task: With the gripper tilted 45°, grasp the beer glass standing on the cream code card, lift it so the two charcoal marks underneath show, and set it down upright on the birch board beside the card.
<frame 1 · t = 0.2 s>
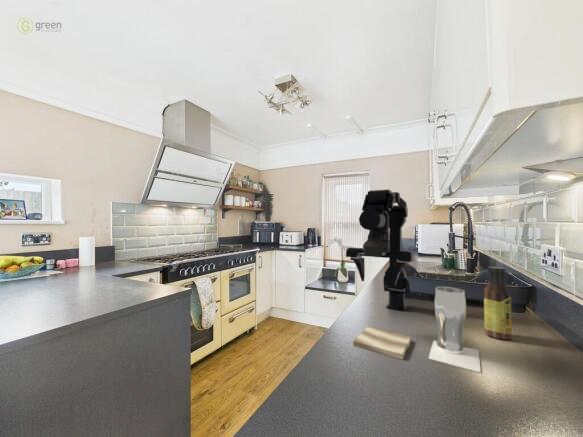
hand: (378, 283, 76), 14 cm above the worktop, tool pointing down, fingers open, 9 cm apart
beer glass: (450, 349, 66), resting on code card
birch board: (383, 343, 68), on the worktop
code card: (454, 354, 63), on the worktop
sauce bottle: (497, 336, 74), on the worktop
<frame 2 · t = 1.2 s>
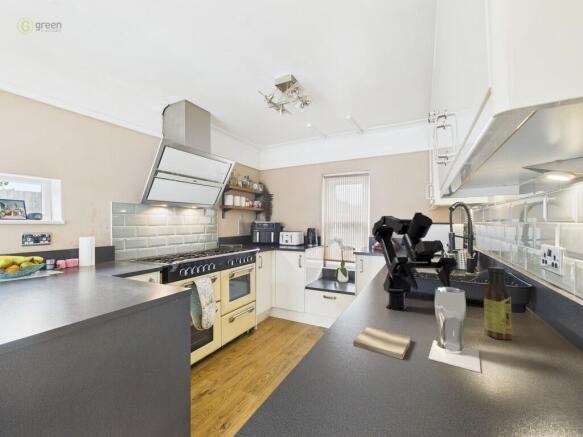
hand: (433, 289, 74), 13 cm above the worktop, tool tilted 45°, fingers open, 9 cm apart
nothing on the worktop moved.
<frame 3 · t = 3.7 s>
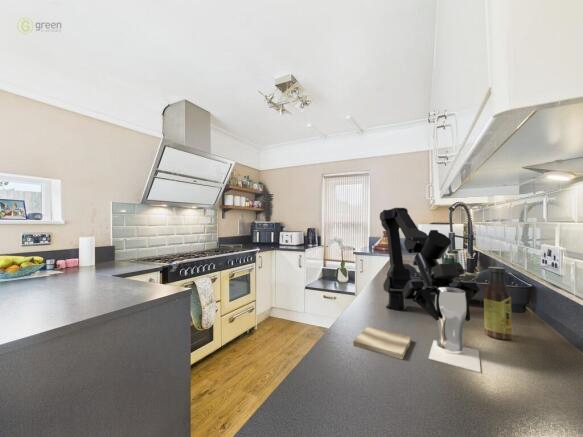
hand: (453, 320, 65), 8 cm above the worktop, tool tilted 45°, fingers open, 7 cm apart
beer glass: (450, 348, 66), resting on code card, touching gripper
everything else where it was.
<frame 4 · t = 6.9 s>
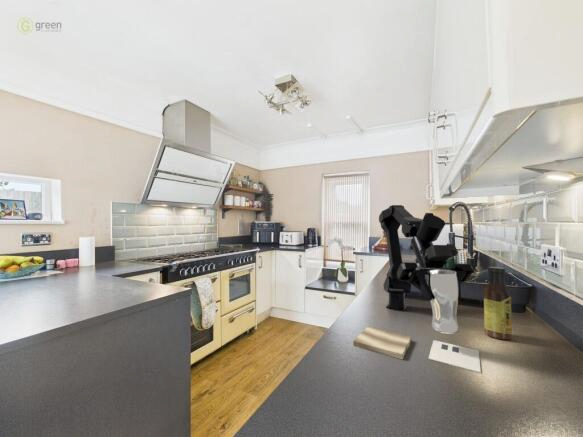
hand: (445, 299, 65), 13 cm above the worktop, tool tilted 45°, fingers closed on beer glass, 7 cm apart
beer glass: (445, 329, 67), point 5 cm above the worktop, touching gripper
everything else where it was.
when the fingers open (10 cm above the worktop, at t = 9.8 s): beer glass stays where it is, resting on birch board.
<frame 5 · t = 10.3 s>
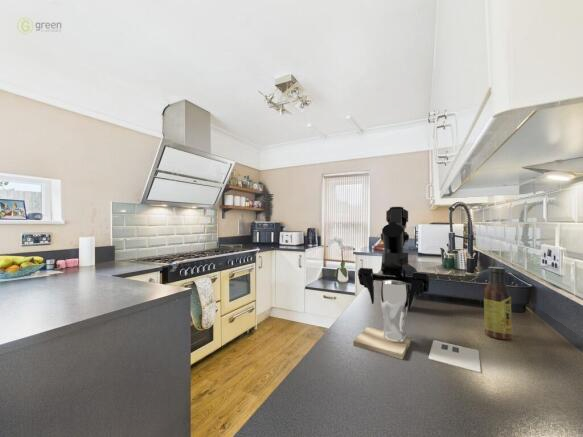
hand: (390, 305, 68), 10 cm above the worktop, tool tilted 45°, fingers open, 9 cm apart
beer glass: (394, 338, 69), point 1 cm above the worktop, touching birch board
everything else where it was.
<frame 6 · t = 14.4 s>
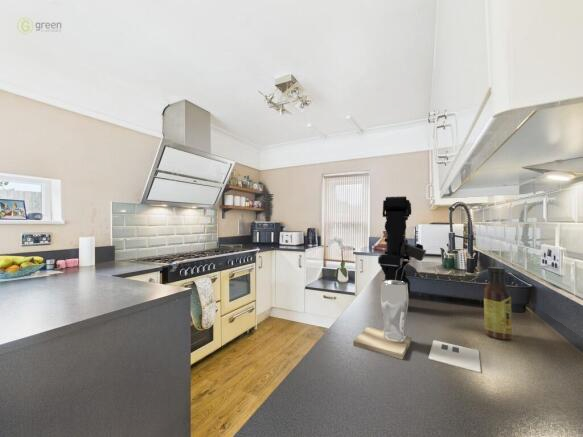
hand: (395, 284, 81), 13 cm above the worktop, tool pointing down, fingers open, 9 cm apart
nothing on the worktop moved.
at the end: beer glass inside the target area (1.7 cm from its centre), point 1.0 cm above the worktop; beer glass tilted 0°; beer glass touching birch board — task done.
